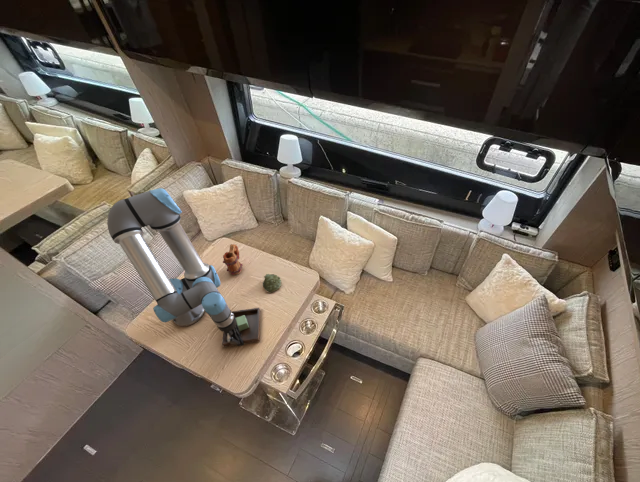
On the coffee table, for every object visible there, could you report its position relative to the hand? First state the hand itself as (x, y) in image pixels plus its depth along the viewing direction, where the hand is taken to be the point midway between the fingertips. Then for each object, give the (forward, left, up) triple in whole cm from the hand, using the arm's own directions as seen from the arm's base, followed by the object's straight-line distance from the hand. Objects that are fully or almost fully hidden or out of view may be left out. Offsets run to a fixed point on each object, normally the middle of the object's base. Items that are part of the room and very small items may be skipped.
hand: (240, 344), depth 132 cm
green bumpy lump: (+14, +35, -2) cm, 38 cm away
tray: (0, +9, -2) cm, 10 cm away
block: (0, +10, -1) cm, 11 cm away
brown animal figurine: (-6, +51, -2) cm, 51 cm away
